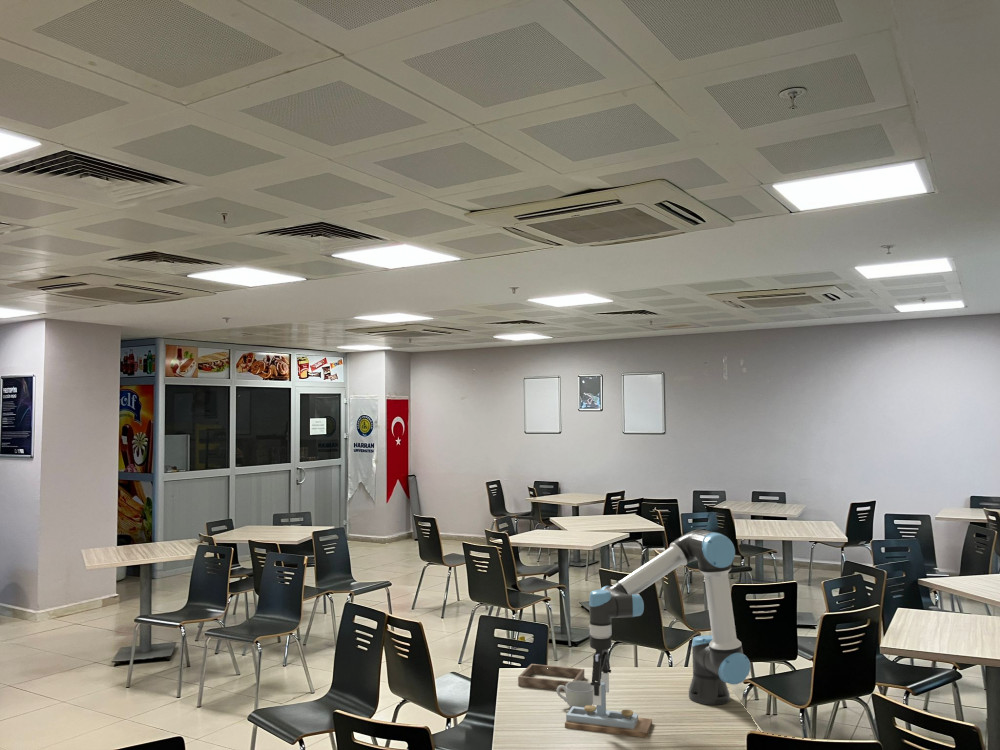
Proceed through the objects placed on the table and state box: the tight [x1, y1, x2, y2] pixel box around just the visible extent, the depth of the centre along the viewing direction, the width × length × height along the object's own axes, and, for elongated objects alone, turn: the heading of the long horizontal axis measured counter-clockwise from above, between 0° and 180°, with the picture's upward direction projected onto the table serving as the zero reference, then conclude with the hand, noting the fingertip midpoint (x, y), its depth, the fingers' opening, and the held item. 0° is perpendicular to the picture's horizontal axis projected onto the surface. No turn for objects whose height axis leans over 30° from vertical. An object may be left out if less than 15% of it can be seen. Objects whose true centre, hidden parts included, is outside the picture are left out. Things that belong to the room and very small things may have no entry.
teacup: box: [556, 680, 593, 708], centre depth 286 cm, size 14×11×8 cm
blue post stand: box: [565, 682, 639, 729], centre depth 269 cm, size 24×9×12 cm, turn 71°
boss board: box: [564, 704, 653, 738], centre depth 268 cm, size 28×13×5 cm, turn 71°
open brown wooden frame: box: [517, 663, 585, 692], centre depth 314 cm, size 23×18×4 cm
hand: (601, 698), depth 269 cm, fingers open, 13 cm apart
